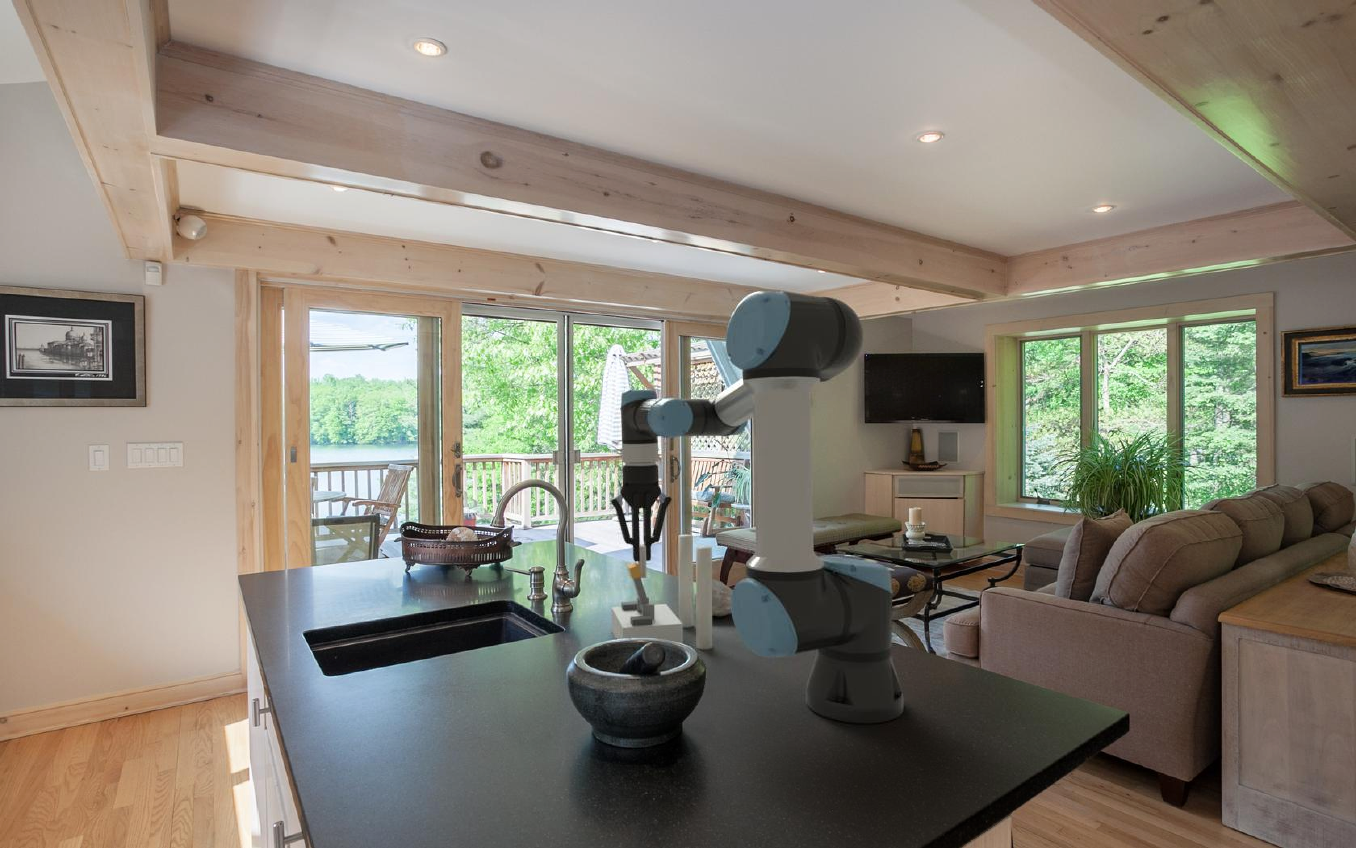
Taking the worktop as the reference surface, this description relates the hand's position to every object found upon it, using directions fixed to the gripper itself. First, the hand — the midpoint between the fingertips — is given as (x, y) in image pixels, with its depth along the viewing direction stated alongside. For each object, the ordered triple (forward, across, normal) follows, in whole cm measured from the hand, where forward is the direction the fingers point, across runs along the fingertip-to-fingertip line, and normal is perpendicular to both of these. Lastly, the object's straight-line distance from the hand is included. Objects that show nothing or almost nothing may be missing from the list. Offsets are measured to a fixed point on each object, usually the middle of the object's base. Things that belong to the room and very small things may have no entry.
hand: (642, 576), depth 151 cm
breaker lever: (+7, 0, +1) cm, 7 cm away
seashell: (+14, -20, -14) cm, 28 cm away
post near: (+13, -11, +9) cm, 19 cm away
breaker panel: (+13, 0, +1) cm, 13 cm away
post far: (+13, -11, -7) cm, 19 cm away
